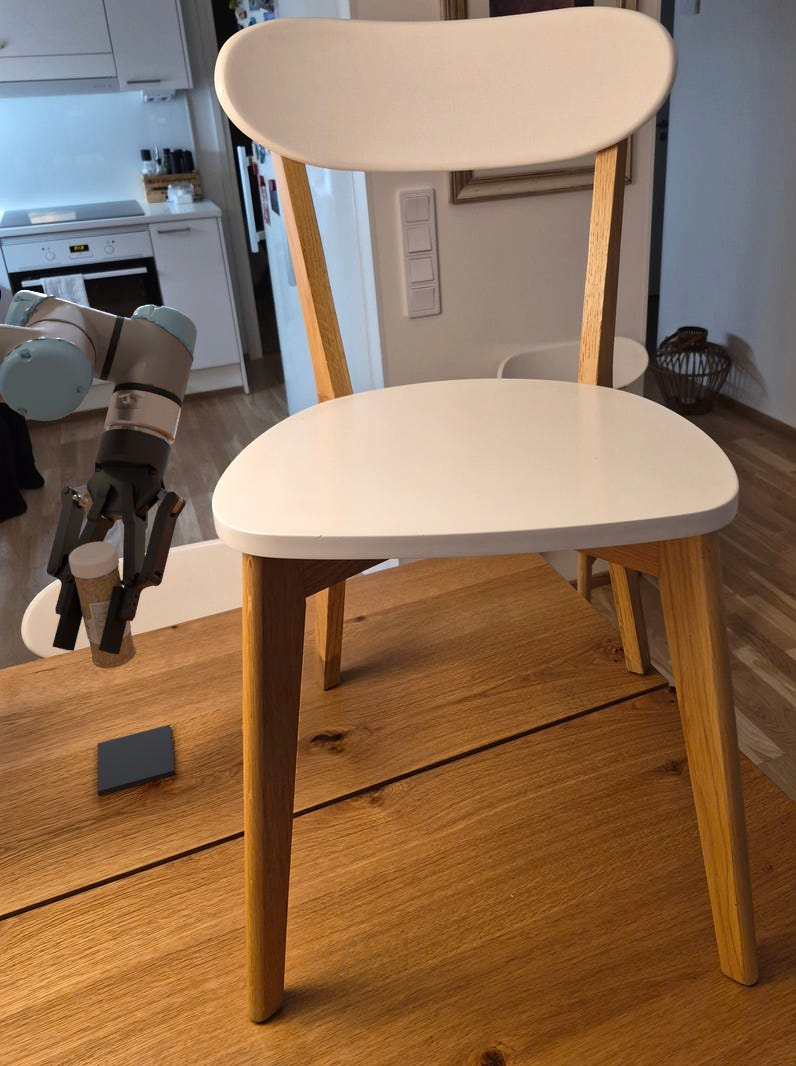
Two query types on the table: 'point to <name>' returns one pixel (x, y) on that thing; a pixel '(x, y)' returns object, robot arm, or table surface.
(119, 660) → the sprinkles bottle
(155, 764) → the mat
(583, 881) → the table surface
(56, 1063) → the table surface
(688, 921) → the table surface
